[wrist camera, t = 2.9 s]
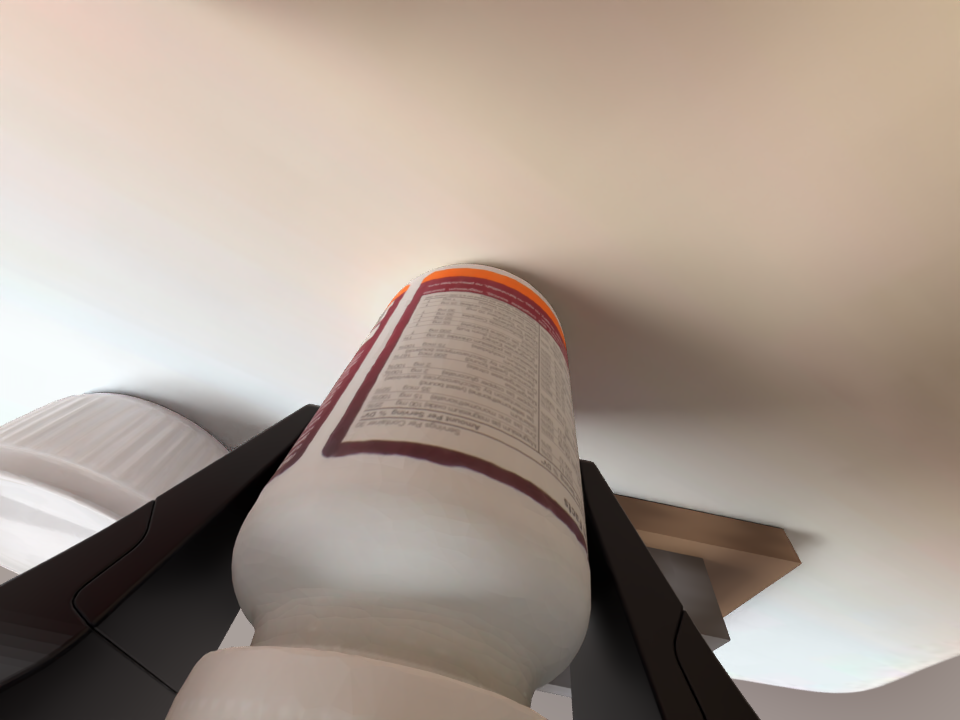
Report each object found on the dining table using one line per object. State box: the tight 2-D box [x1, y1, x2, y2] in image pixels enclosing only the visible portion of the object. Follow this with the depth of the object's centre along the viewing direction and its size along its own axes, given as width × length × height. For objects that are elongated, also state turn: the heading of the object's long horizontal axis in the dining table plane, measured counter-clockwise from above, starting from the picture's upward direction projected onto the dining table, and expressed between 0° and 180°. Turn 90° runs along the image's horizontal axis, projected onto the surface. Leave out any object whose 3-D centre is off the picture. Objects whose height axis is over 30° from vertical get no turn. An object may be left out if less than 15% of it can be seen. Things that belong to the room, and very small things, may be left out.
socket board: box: [537, 494, 802, 698], centre depth 19 cm, size 18×13×4 cm
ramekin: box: [0, 393, 229, 574], centre depth 18 cm, size 11×11×5 cm
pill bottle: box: [165, 264, 591, 720], centre depth 9 cm, size 6×6×11 cm
